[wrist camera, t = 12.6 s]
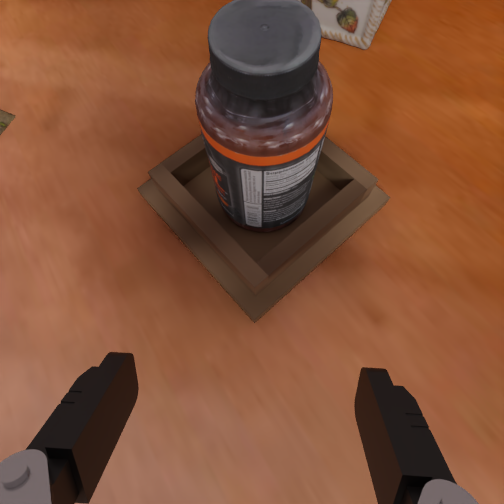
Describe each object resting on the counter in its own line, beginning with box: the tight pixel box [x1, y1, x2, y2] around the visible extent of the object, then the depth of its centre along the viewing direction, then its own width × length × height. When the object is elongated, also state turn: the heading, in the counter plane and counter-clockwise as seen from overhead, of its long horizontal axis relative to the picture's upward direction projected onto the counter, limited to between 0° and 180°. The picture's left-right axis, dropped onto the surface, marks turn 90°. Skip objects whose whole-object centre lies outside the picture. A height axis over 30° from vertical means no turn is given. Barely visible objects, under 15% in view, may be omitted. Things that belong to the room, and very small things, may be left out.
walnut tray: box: [137, 134, 390, 323], centre depth 21 cm, size 12×12×3 cm
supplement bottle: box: [195, 0, 333, 232], centre depth 17 cm, size 6×6×11 cm
